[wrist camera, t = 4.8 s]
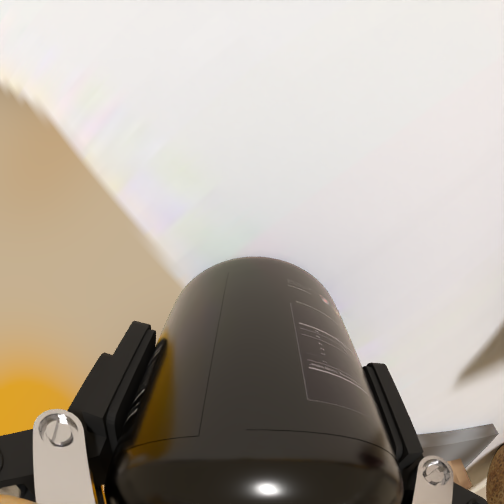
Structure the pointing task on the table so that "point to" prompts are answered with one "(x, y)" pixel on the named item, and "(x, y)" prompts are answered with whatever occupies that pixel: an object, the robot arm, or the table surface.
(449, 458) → the collar board
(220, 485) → the supplement bottle
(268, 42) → the table surface
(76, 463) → the robot arm
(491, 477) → the natural sponge
